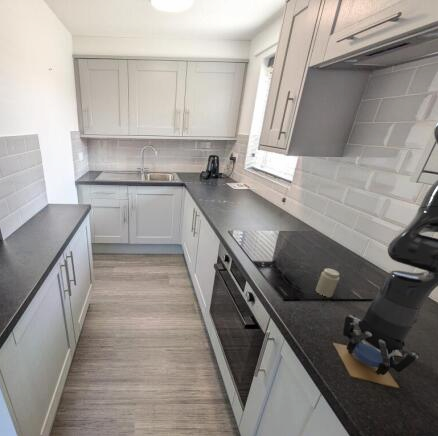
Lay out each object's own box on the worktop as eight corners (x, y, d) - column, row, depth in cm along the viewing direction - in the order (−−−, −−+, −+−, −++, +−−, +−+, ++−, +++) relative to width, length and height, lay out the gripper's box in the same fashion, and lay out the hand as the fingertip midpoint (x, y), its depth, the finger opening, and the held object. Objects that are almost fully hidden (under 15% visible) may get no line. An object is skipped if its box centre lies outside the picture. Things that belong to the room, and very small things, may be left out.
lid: (354, 359, 60) (357, 354, 59) (352, 344, 64) (354, 339, 63) (383, 372, 57) (386, 367, 56) (379, 355, 61) (381, 350, 60)
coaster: (373, 352, 65) (373, 351, 65) (398, 388, 56) (399, 387, 56) (332, 343, 67) (332, 342, 67) (350, 376, 58) (351, 375, 58)
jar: (326, 288, 91) (335, 268, 87) (335, 298, 86) (344, 276, 82) (312, 287, 91) (320, 266, 88) (320, 296, 86) (328, 275, 83)
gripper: (348, 297, 59) (326, 345, 65) (428, 342, 47) (393, 395, 53) (363, 290, 62) (341, 336, 69) (442, 330, 50) (407, 381, 56)
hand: (364, 362), depth 61 cm, fingers closed on lid, 5 cm apart
